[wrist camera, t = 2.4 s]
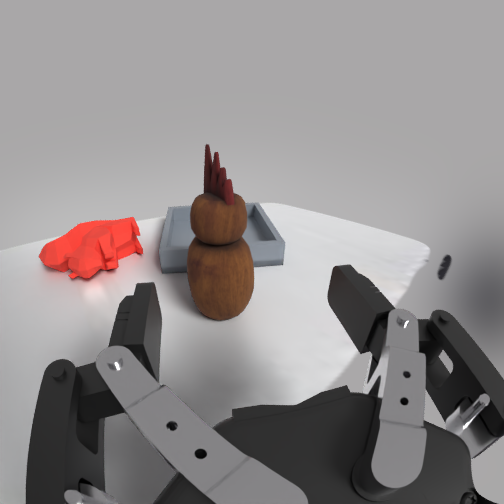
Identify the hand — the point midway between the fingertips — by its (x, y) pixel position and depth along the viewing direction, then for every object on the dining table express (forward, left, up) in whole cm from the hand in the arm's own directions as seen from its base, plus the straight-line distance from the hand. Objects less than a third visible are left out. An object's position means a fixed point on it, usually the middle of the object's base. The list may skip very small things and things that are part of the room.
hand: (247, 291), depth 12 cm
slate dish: (+1, +25, -10) cm, 27 cm away
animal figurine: (-17, +21, -11) cm, 29 cm away
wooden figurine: (0, +11, -10) cm, 15 cm away
